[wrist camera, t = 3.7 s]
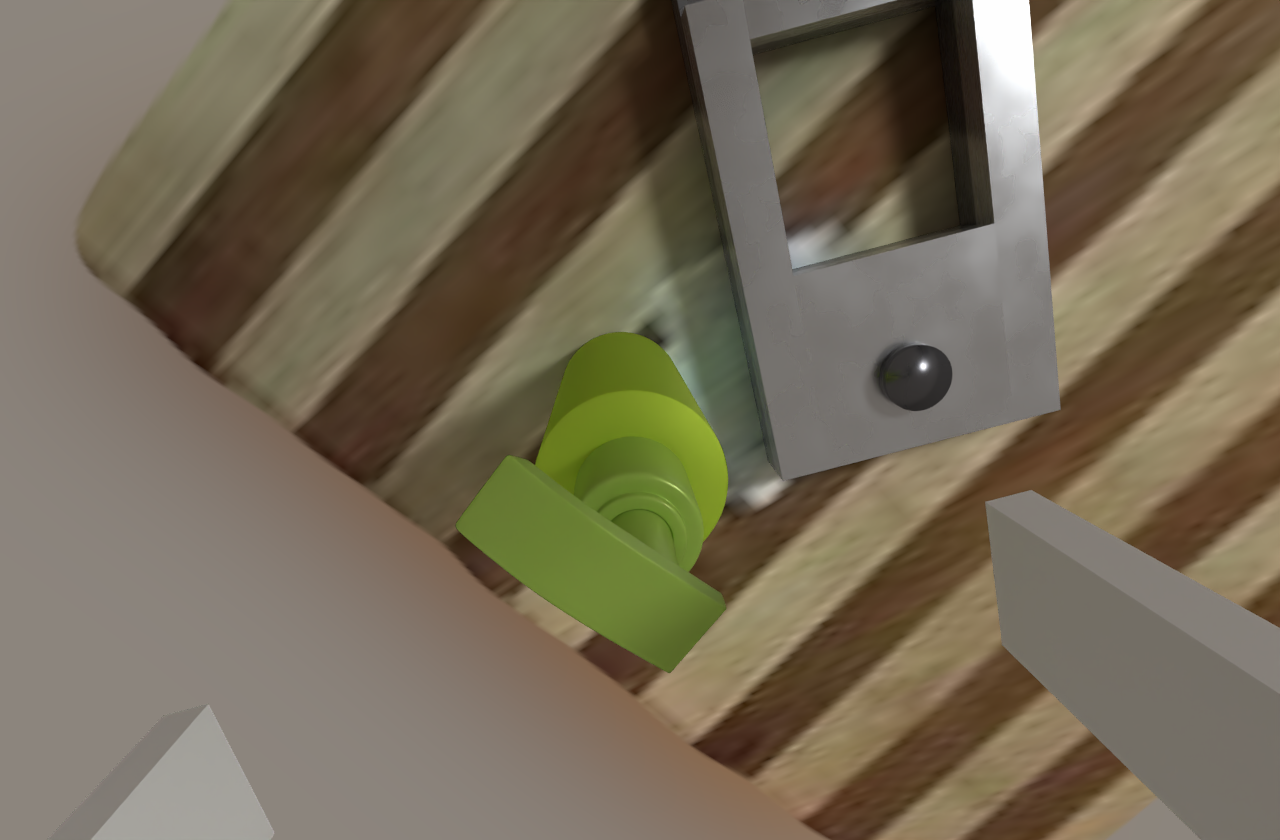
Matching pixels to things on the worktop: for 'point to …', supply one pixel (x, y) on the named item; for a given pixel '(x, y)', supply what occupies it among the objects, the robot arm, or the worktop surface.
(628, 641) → the soap dispenser
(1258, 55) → the worktop surface
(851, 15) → the upper link
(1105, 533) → the robot arm
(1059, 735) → the worktop surface
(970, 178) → the lower link
